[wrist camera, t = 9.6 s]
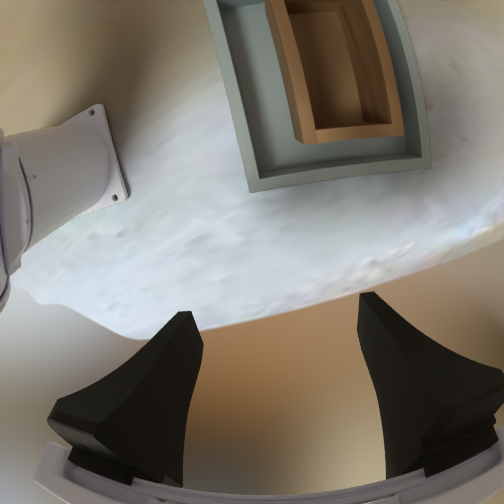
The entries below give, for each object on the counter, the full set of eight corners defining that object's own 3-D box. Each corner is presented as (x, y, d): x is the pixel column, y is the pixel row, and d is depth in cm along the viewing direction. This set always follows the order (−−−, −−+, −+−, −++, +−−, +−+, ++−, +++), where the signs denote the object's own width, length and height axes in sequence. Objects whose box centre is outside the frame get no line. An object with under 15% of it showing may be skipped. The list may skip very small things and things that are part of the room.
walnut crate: (295, 139, 16) (304, 145, 11) (265, 13, 12) (262, -22, 7) (370, 130, 15) (404, 135, 11) (341, 7, 11) (362, -24, 7)
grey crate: (253, 182, 18) (250, 193, 15) (211, 10, 12) (201, -7, 10) (410, 160, 16) (431, 168, 14) (373, -4, 11) (388, -20, 8)
